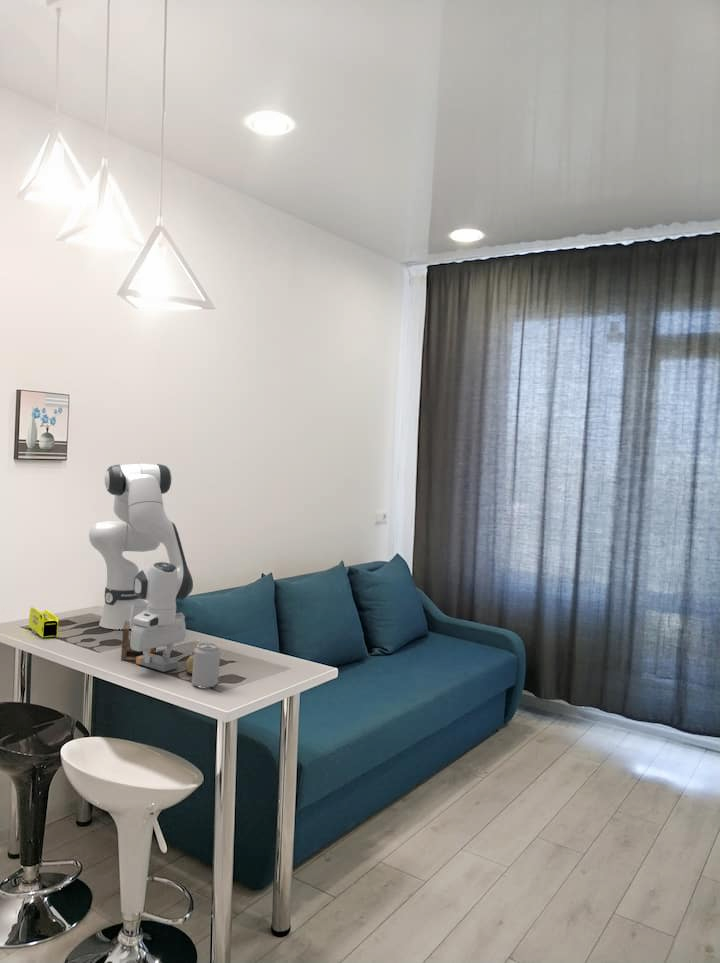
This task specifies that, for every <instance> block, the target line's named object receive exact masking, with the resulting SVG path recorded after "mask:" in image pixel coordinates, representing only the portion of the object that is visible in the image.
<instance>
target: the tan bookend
mask: <svg viewBox="0 0 720 963" xmlns="http://www.w3.org/2000/svg"><path fill="white" fill-rule="evenodd" d="M129 627H130V621H125V624H124V628H123V630H122V640H121V655H120V661H136V657H137V656H127V655H128V653H139V652H138V651H135V650H132V649H131V647H130V639H129V638H130V630H129ZM140 652H142V651H140ZM156 652H157V648H152V649H151V652H149V654H150V653H152V654H155V653H156ZM126 659H127V660H126Z"/></svg>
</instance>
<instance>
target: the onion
mask: <svg viewBox="0 0 720 963" xmlns="http://www.w3.org/2000/svg"><path fill="white" fill-rule="evenodd" d="M193 660H194V650H192V653H191V655H190V656H189V657H188V658H187V659H186V662H185V670H186V671H187V673H188V674H191V675H192V672H193Z"/></svg>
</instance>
